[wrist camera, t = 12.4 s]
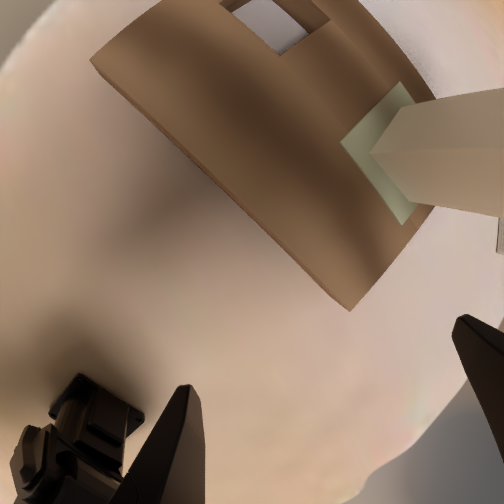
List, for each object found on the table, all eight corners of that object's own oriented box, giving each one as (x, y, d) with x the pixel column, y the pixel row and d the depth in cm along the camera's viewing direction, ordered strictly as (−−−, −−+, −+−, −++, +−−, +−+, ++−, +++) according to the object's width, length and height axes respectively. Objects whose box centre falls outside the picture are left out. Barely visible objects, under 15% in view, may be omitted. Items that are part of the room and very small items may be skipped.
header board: (329, 296, 22) (351, 313, 19) (101, 76, 15) (88, 58, 12) (443, 156, 22) (469, 156, 19) (271, -41, 15) (284, -64, 12)
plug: (409, 203, 18) (606, 249, 5) (366, 153, 17) (599, 156, 4) (438, 155, 18) (615, 167, 5) (400, 105, 17) (596, 78, 3)
